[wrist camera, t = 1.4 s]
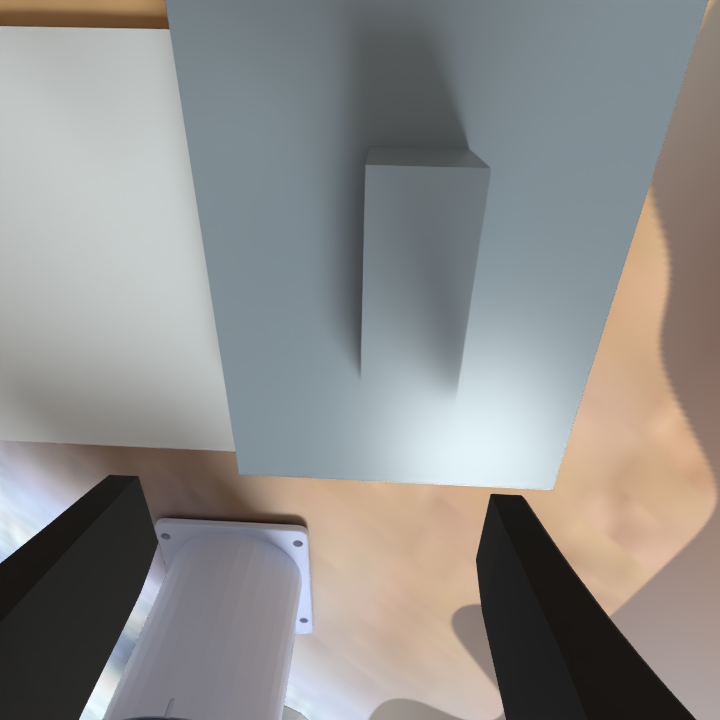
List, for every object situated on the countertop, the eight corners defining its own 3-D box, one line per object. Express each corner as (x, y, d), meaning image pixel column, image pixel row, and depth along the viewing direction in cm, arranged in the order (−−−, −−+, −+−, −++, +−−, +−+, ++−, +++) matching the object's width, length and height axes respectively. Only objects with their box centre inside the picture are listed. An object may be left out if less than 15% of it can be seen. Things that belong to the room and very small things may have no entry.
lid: (541, 463, 18) (579, 557, 15) (248, 448, 19) (215, 538, 15) (694, -65, 10) (859, -140, 7) (177, -70, 11) (70, -144, 7)
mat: (240, 445, 22) (238, 451, 22) (-9, 434, 23) (-15, 439, 22) (179, 30, 14) (174, 29, 14) (-213, 23, 14) (-227, 22, 14)
